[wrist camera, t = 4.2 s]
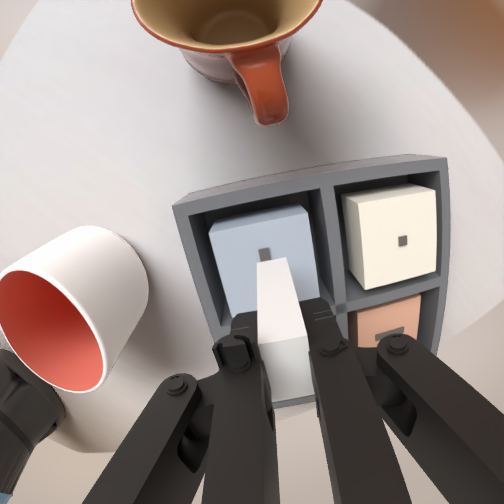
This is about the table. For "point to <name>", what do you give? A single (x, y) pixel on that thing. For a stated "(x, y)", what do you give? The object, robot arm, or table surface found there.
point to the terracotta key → (384, 321)
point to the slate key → (263, 252)
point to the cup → (73, 306)
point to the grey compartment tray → (322, 237)
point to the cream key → (390, 233)
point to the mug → (233, 43)
